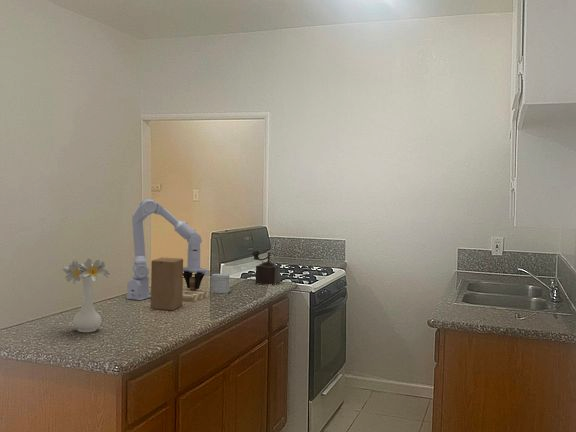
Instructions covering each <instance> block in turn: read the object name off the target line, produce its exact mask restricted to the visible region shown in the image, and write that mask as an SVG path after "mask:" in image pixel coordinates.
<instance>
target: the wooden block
mask: <svg viewBox="0 0 576 432" xmlns="http://www.w3.org/2000/svg"><path fill="white" fill-rule="evenodd" d="M150 266H151V267H150V271H151V272H150V274H151V275H150V295H151V297H150V309H153V310H161V309H162V310H161V311H163V310H164V311H175V310H176V309H178V308H180V307H182V306H183V301H182V297H183V285H184V283H183V282H184V280H183V279H184V276H183V273H184V272H183V267H184V259H183V258H178V257H176V258H175V257H159V258H156V259H153V260H151V265H150Z"/></svg>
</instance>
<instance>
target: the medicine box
mask: <svg viewBox="0 0 576 432" xmlns="http://www.w3.org/2000/svg"><path fill="white" fill-rule="evenodd" d="M210 283H211V284H210V287H211V289H210V292H211V294H229V292H230V274H227V273H226V274H225V273H213V274H212V275H211V281H210Z"/></svg>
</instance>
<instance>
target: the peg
mask: <svg viewBox="0 0 576 432" xmlns="http://www.w3.org/2000/svg"><path fill="white" fill-rule="evenodd" d="M189 286H190V288H189V289H190V291H196V290H198V289H196V281H195V276H192V277H189Z"/></svg>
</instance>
